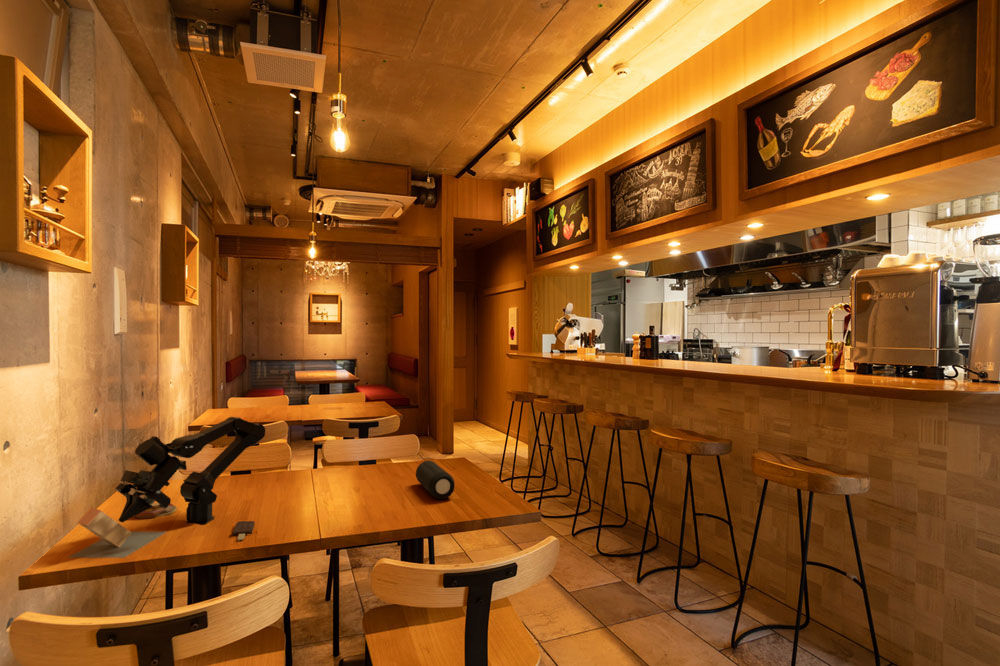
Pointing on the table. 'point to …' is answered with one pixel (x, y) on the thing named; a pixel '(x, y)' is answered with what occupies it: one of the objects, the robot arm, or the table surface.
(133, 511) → the robot arm
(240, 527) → the ice cream bar
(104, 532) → the maple block
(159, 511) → the toy sandwich meal
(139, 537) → the rubber mat
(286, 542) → the table surface
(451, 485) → the portable speaker
